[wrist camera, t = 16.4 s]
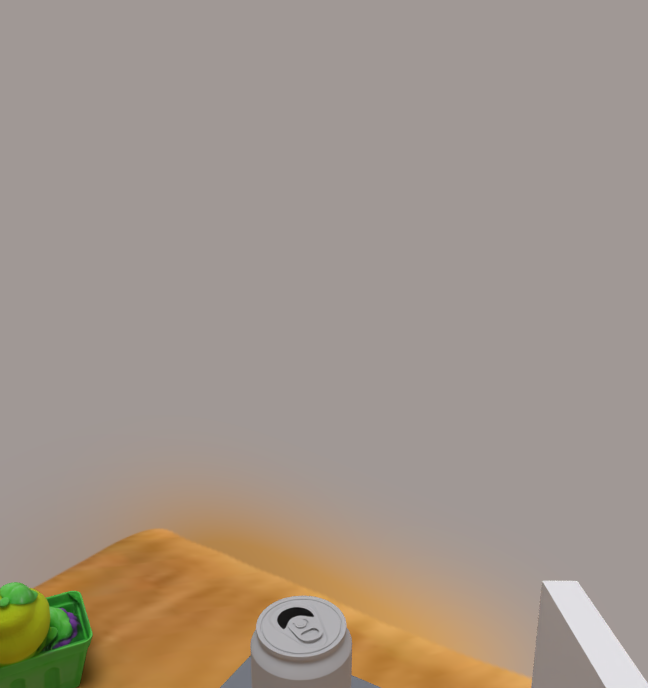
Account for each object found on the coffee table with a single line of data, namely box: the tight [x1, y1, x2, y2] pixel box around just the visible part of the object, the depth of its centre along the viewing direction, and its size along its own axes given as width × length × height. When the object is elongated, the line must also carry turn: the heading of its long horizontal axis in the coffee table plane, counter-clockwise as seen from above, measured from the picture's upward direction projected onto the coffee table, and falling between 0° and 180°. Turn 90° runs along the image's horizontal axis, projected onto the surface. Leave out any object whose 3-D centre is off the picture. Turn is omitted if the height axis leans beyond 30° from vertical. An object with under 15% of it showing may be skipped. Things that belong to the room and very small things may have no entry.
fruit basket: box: [0, 582, 93, 688], centre depth 48 cm, size 11×9×11 cm
